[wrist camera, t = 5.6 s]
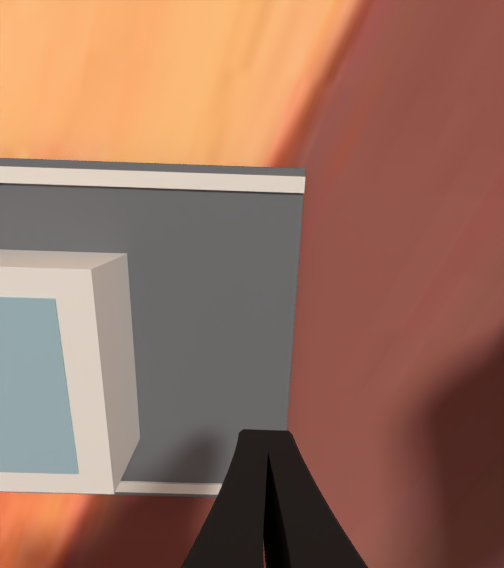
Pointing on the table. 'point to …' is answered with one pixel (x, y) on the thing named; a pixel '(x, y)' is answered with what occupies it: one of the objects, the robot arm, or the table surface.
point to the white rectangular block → (66, 372)
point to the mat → (181, 295)
